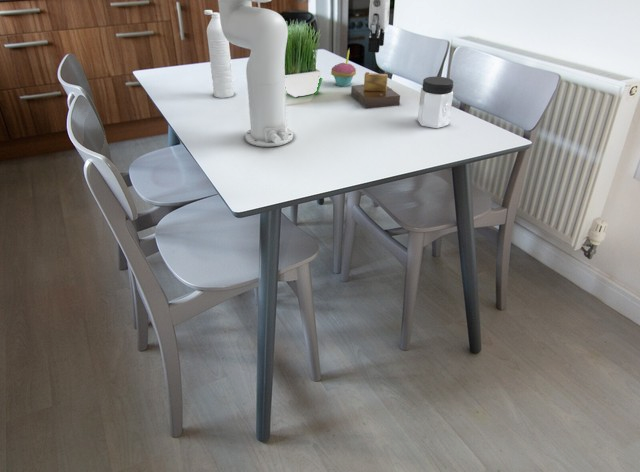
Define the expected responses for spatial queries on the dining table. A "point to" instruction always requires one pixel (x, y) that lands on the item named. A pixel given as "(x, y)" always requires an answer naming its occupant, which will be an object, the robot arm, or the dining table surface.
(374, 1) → the robot arm
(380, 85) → the tap handle
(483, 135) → the dining table surface
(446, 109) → the jar
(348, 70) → the cupcake
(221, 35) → the water bottle
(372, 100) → the plate
